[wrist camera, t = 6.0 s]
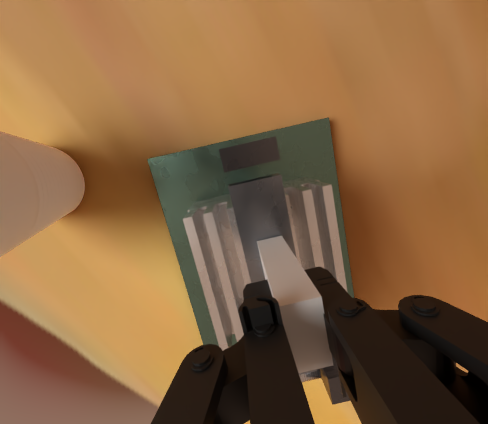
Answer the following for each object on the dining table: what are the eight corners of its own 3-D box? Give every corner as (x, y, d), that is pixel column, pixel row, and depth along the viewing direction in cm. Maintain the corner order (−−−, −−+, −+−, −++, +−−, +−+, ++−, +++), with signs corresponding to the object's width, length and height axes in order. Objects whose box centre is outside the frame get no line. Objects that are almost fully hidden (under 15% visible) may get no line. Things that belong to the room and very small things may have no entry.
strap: (224, 185, 15) (224, 187, 13) (280, 172, 15) (285, 173, 13) (271, 377, 18) (274, 393, 17) (316, 367, 18) (322, 381, 17)
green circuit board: (150, 159, 22) (82, 158, 12) (325, 118, 22) (403, 84, 12) (206, 347, 26) (191, 462, 16) (353, 313, 26) (428, 407, 16)
